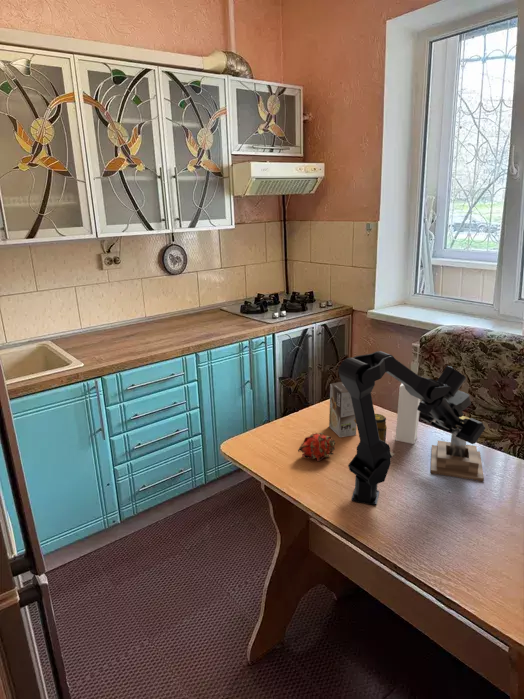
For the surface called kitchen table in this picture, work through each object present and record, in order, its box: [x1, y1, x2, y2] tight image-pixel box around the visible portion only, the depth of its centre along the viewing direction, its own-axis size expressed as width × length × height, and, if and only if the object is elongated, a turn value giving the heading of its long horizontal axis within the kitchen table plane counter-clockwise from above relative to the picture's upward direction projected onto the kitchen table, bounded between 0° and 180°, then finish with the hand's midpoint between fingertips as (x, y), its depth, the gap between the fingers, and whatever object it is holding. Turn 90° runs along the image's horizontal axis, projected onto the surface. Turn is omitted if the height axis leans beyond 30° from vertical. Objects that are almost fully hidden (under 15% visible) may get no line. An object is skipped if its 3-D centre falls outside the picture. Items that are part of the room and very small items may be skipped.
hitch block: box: [430, 440, 485, 482], centre depth 145 cm, size 16×14×4 cm
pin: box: [449, 415, 470, 457], centre depth 144 cm, size 5×5×12 cm
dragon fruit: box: [297, 432, 336, 462], centre depth 149 cm, size 8×8×12 cm
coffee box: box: [328, 381, 357, 438], centre depth 165 cm, size 9×6×16 cm
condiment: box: [375, 413, 396, 457], centre depth 151 cm, size 7×8×12 cm
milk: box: [395, 383, 422, 445], centre depth 158 cm, size 6×6×22 cm
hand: (462, 435), depth 144 cm, fingers closed on pin, 5 cm apart
